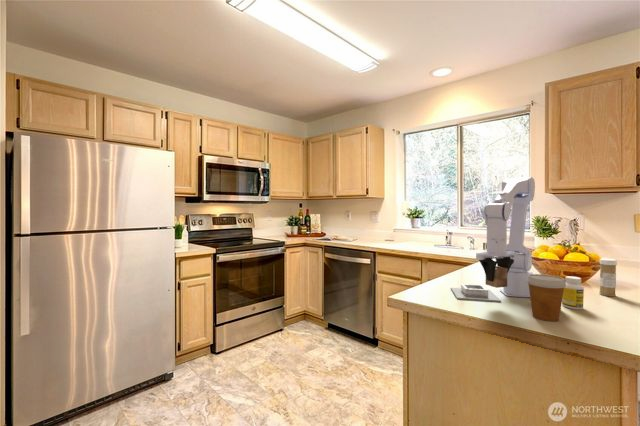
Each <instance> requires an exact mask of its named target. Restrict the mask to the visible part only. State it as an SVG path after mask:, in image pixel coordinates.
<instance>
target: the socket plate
mask: <svg viewBox="0 0 640 426" xmlns="http://www.w3.org/2000/svg"><path fill="white" fill-rule="evenodd" d="M450 290H451V292H452V293H453V296H454V297H455V298H456V300H461V301H462V300H463V301H474V300H475V301H477V302H490V303H491V302H492V303H493V302H494V303H502V299H500V298H499V297H498V296H497V295H495V293H494V292H492V291H491V290H490V289H487V290H488V297H476V296H465V295H464V294H463V292H462V291H461V287H450Z"/></svg>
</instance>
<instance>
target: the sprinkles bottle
mask: <svg viewBox="0 0 640 426" xmlns="http://www.w3.org/2000/svg"><path fill="white" fill-rule="evenodd" d="M617 261H618V260H616V259H613V258H603V257H602V258H599V264H600V266H599V267H600V268H599V269H600V271H599V272H600V273H599V293H598V294H599V295H601V296H605V297H616V285H617V264H618V262H617Z"/></svg>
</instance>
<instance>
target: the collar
mask: <svg viewBox="0 0 640 426" xmlns="http://www.w3.org/2000/svg"><path fill="white" fill-rule="evenodd" d="M460 288H461V291H462V292H463V294H464V295H465V296H476V297H488V290H489V289H488V288H486V286H485V285H483V284H472V283H471V284H469V283H468V284H467V283H461V284H460Z"/></svg>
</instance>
